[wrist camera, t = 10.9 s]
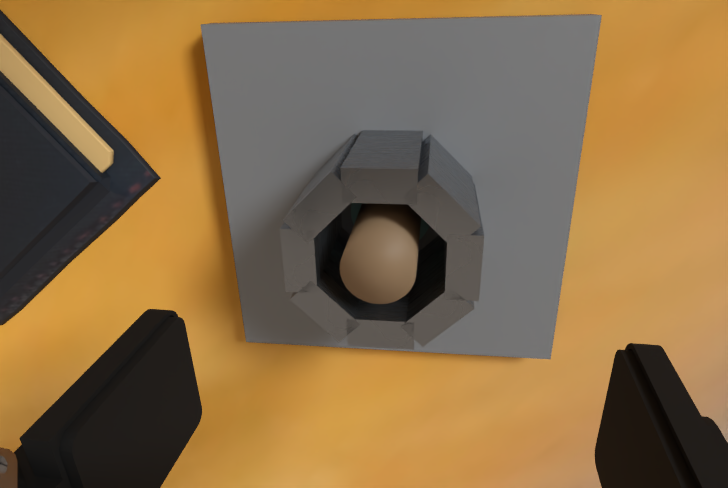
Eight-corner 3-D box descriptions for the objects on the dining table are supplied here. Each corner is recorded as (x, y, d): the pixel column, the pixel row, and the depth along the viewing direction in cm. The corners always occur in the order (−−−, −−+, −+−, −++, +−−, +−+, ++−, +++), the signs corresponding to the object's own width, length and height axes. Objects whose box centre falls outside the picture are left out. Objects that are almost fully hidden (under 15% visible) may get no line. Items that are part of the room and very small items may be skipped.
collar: (478, 131, 20) (489, 170, 15) (467, 282, 22) (474, 353, 18) (310, 129, 21) (273, 167, 16) (319, 275, 23) (290, 342, 19)
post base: (592, 14, 19) (664, 22, 13) (545, 343, 25) (579, 455, 19) (213, 23, 20) (119, 34, 14) (253, 327, 26) (198, 425, 20)
